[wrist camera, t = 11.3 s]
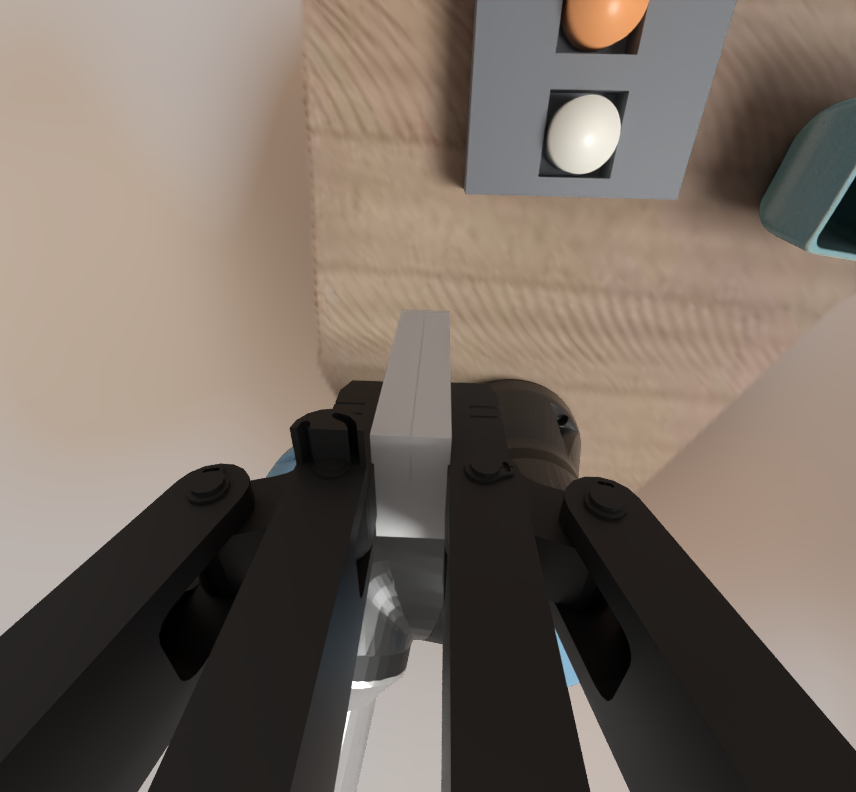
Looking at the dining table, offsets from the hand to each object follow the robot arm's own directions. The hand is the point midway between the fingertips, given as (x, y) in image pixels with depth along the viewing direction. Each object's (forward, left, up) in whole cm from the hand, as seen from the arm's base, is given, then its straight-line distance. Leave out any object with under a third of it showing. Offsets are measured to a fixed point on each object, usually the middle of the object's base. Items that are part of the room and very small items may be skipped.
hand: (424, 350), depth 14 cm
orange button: (+13, -10, -23) cm, 28 cm away
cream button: (+6, -10, -23) cm, 25 cm away
